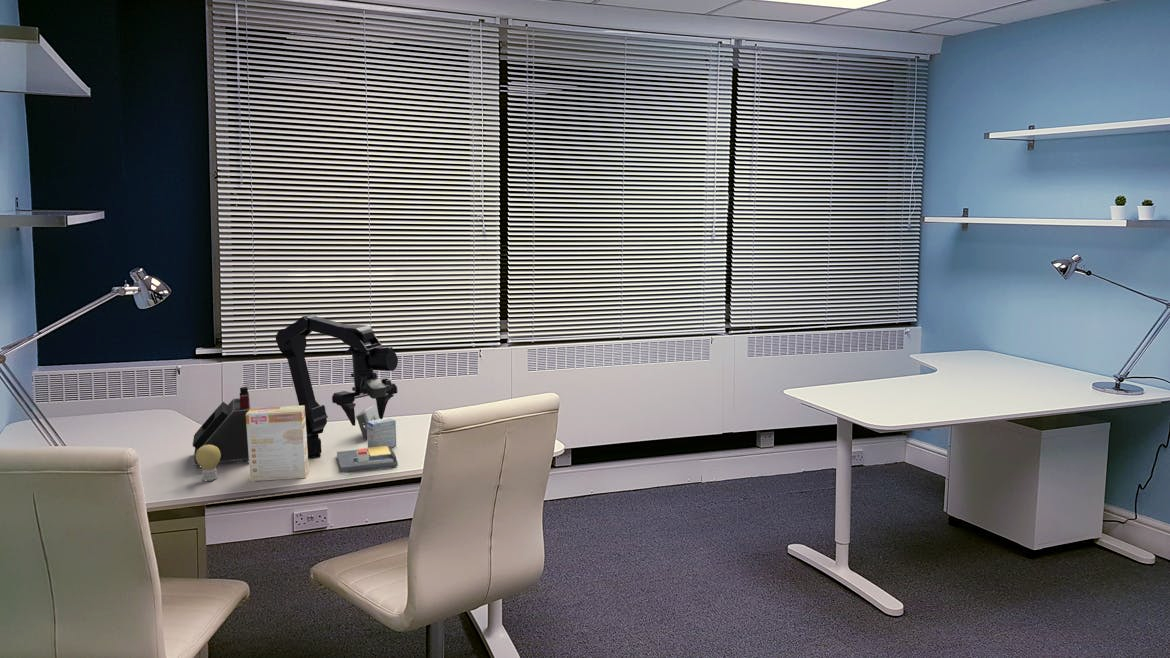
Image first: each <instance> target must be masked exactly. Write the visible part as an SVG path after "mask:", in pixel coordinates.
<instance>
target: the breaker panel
mask: <svg viewBox="0 0 1170 658" xmlns="http://www.w3.org/2000/svg"><path fill="white" fill-rule="evenodd" d="M388 448H389V451H390V453H391V454H383V455H373V456H370V455H369V461H366V462H358V461H357V451H358V449H353V450H341V451H336V457H337V459H336V460H337V461H338V465H339V471H340V473H349V472H360V470H361V471H369V470H370V471H371V470H380V469H387V468H388V467H389V468H397V467H396V466H399V461H398V459H397V456H396V454H395V452H394V451H393V449H392V447H388ZM366 449H367V448H366ZM367 451H368V449H367ZM368 453H369V452H368ZM379 468H380V469H379Z"/></svg>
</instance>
